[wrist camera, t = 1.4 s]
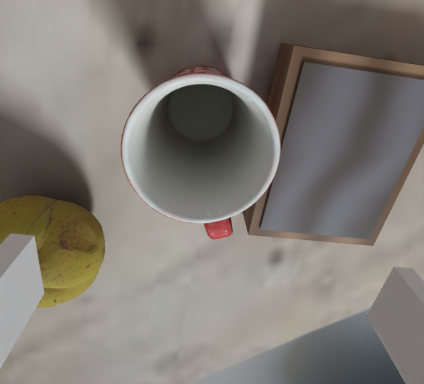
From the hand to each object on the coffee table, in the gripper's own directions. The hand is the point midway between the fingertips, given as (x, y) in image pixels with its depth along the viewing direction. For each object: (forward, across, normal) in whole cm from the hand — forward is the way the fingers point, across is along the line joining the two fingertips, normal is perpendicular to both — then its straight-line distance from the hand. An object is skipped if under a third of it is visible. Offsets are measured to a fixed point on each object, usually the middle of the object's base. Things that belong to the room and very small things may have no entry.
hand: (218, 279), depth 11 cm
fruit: (+21, -14, -13) cm, 29 cm away
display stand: (+21, +12, -1) cm, 25 cm away
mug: (+21, 0, 0) cm, 21 cm away
